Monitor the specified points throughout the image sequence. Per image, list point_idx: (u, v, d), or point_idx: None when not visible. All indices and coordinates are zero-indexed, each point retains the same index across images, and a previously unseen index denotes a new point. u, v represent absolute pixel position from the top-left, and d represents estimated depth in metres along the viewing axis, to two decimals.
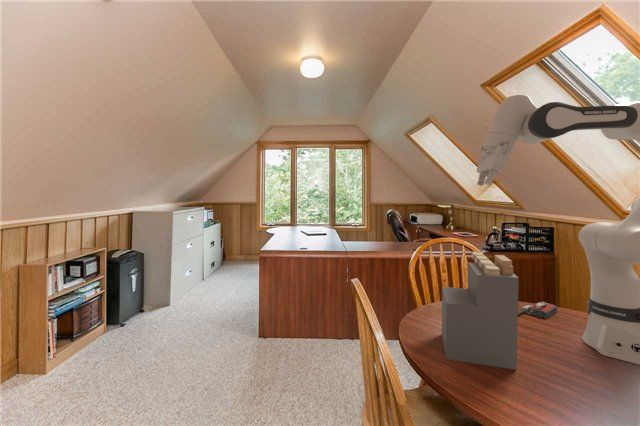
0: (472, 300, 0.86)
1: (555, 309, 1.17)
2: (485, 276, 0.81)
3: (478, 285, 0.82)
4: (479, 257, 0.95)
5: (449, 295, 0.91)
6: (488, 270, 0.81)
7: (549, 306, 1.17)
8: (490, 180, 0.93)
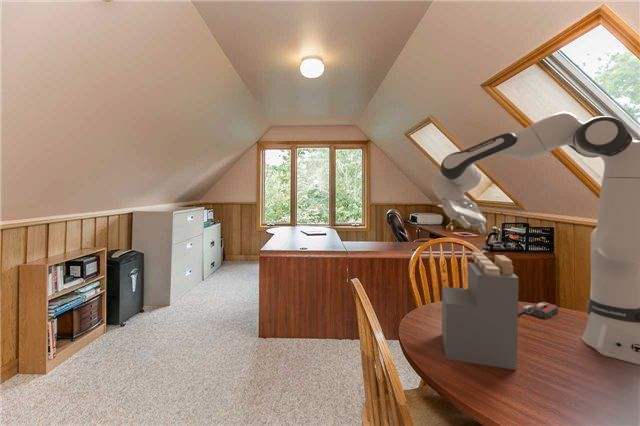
0: (472, 300, 0.86)
1: (556, 309, 1.16)
2: (485, 276, 0.81)
3: (478, 285, 0.82)
4: (479, 257, 0.95)
5: (449, 295, 0.91)
6: (488, 270, 0.81)
7: (550, 306, 1.17)
8: (465, 223, 1.03)
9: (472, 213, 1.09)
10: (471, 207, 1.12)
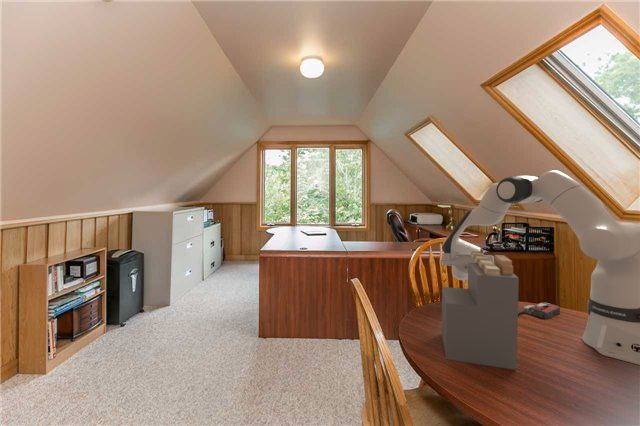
0: (472, 300, 0.86)
1: (558, 310, 1.16)
2: (485, 276, 0.81)
3: (478, 285, 0.82)
4: (479, 257, 0.95)
5: (449, 295, 0.91)
6: (488, 270, 0.81)
7: (551, 307, 1.16)
8: (454, 254, 1.22)
9: None
10: None
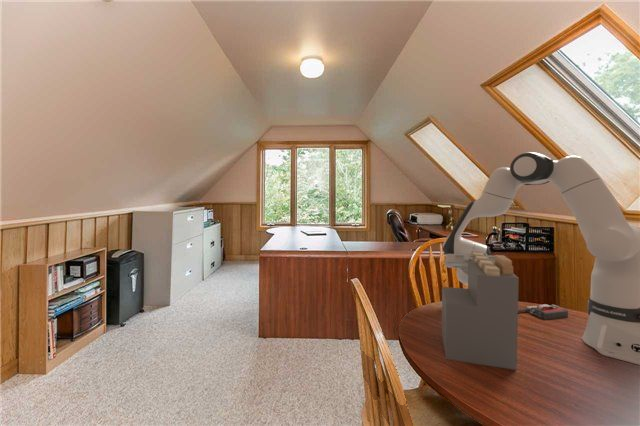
0: (472, 300, 0.86)
1: (565, 313, 1.13)
2: (485, 276, 0.81)
3: (478, 285, 0.82)
4: (479, 257, 0.95)
5: (449, 295, 0.91)
6: (488, 270, 0.81)
7: (557, 309, 1.14)
8: (468, 255, 1.03)
9: None
10: None
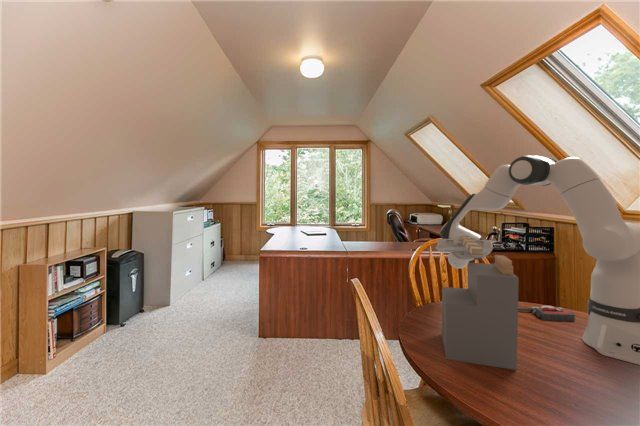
0: (472, 300, 0.86)
1: (570, 317, 1.10)
2: (485, 276, 0.81)
3: (478, 285, 0.82)
4: (466, 240, 1.05)
5: (449, 295, 0.91)
6: (472, 250, 0.91)
7: (562, 312, 1.11)
8: (457, 239, 1.13)
9: None
10: None
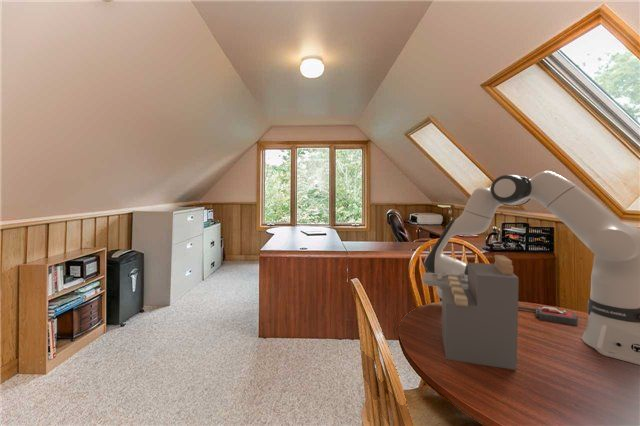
0: (472, 300, 0.86)
1: (571, 320, 1.07)
2: (485, 276, 0.81)
3: (478, 285, 0.82)
4: (452, 283, 0.97)
5: (449, 295, 0.91)
6: (457, 300, 0.83)
7: (564, 315, 1.09)
8: (440, 274, 1.06)
9: None
10: None
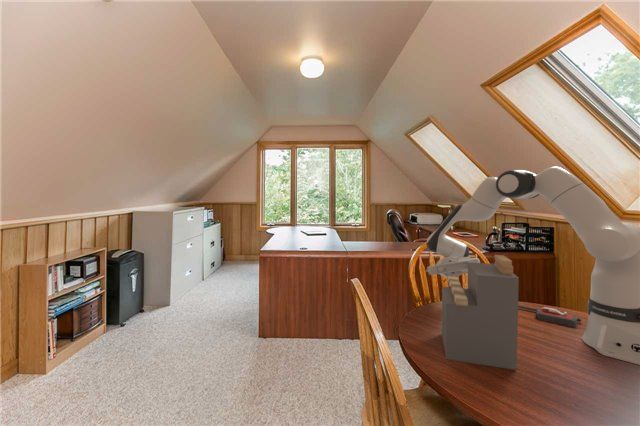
0: (472, 300, 0.86)
1: (569, 322, 1.05)
2: (485, 276, 0.81)
3: (478, 285, 0.82)
4: (452, 283, 0.97)
5: (449, 295, 0.91)
6: (457, 300, 0.83)
7: (563, 316, 1.07)
8: (441, 268, 1.15)
9: None
10: (460, 259, 1.22)
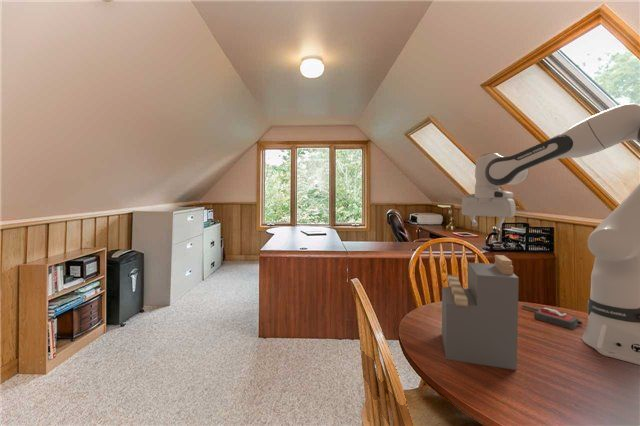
0: (472, 300, 0.86)
1: (566, 323, 1.04)
2: (485, 276, 0.81)
3: (478, 285, 0.82)
4: (452, 283, 0.97)
5: (449, 295, 0.91)
6: (457, 300, 0.83)
7: (561, 317, 1.07)
8: None
9: (490, 209, 1.16)
10: (494, 201, 1.14)
